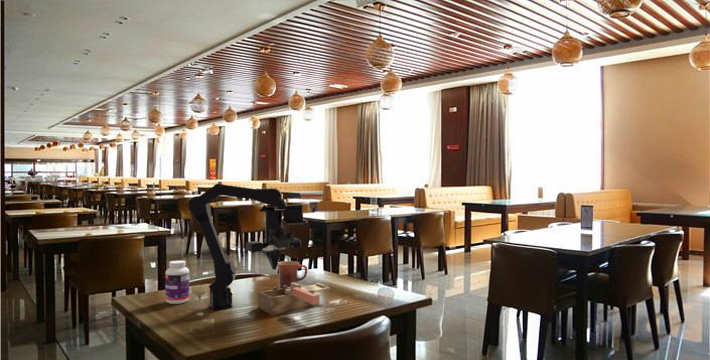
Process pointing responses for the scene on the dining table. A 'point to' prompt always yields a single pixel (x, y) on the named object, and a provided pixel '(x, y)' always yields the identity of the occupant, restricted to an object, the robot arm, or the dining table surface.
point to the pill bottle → (177, 282)
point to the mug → (289, 273)
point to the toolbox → (280, 301)
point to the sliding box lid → (309, 287)
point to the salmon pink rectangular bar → (306, 295)
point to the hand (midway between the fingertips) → (274, 269)
